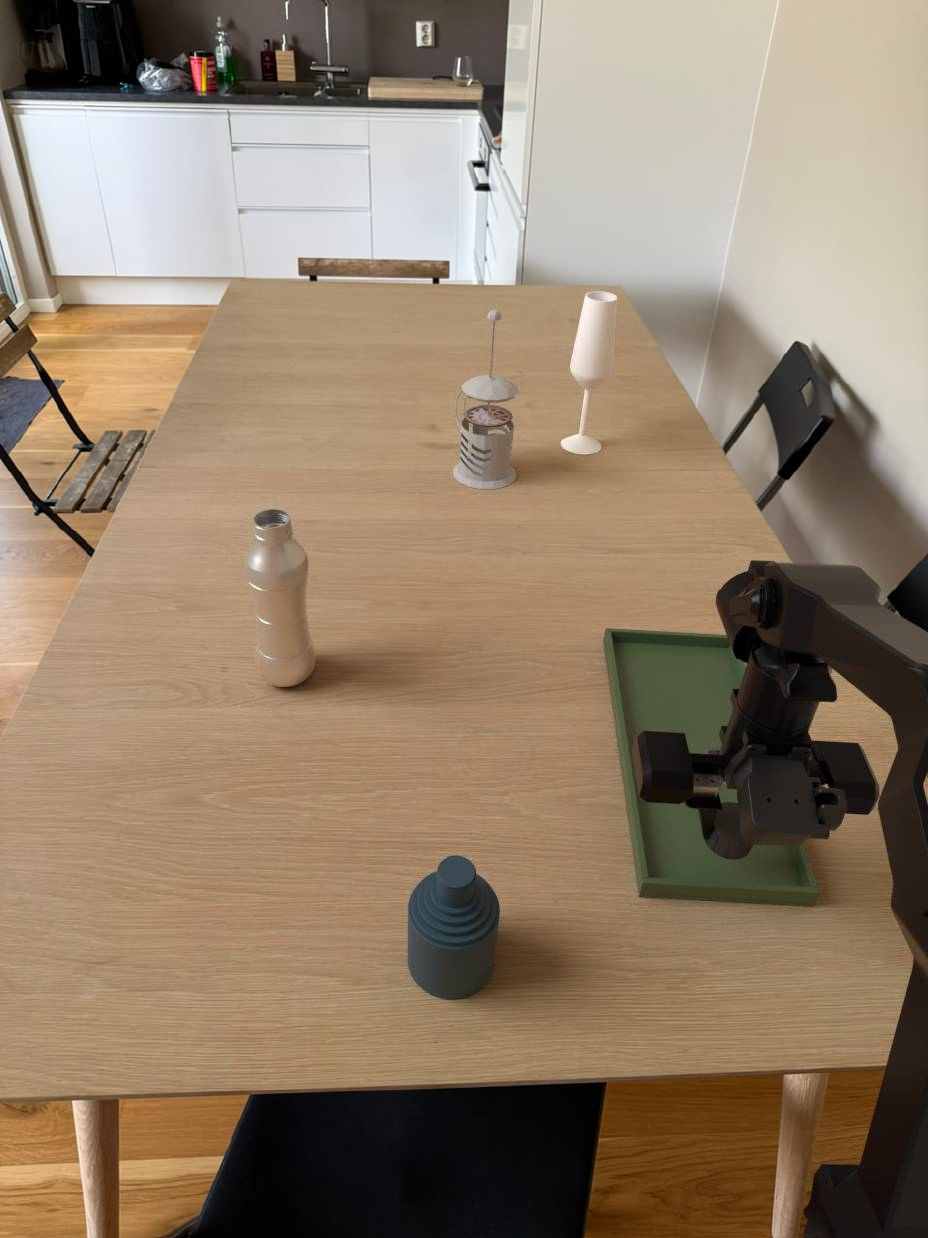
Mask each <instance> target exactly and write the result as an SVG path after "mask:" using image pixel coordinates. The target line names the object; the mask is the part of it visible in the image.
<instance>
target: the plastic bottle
mask: <svg viewBox="0 0 928 1238" xmlns="http://www.w3.org/2000/svg"><path fill="white" fill-rule="evenodd" d="M252 527H253V529H252V535H253V539H254V541H253V543H252V544H251V546H250V548H249V549H248V551H247V553H246V555H245V557H244V563H243V569H244V574H245V578H246V581H247V584H248V588H249V591H250V594H251V597H252V598H251V599H252V603H253V609H254V614H255V619H256V621H255V622H256V643H255V648H254V649H255V650H254V652H255V653H254V662H255V667H256V669H257V672H258V674H259V676H260V677H261V678H262V679H263V680H264V681H265V682H267V684H270V685H271V686H275V687H279V688H289V687H294V686H296V685H300V684H301V683H303V682H305V681H306V680H307V678H308V677H310V675H311V674H312V673H313V671H314V669H315V665H316V664H315V663H316V657H317V656H316V654H317V653H316V649H315V644H314V640H313V637H312V635H311V631H310V625H309V620H308V614H307V612H308V611H307V587H308V575H309V558H308V555H307V553H306V550H305V549H304V547H303V546H302V545H301V544H300V543H299V542H298V541H297V540H296V539H295V538H294V537H293V534H294V531H293V530H294V529H293V526H292V520H291V515H290V513H288V511H287V510H284V509H280V508H267V509H263V510H260V511H258V512H256V513H255V514H254V515H253V517H252Z"/></svg>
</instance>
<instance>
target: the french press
mask: <svg viewBox="0 0 928 1238" xmlns="http://www.w3.org/2000/svg"><path fill="white" fill-rule="evenodd" d="M487 320H489V321H493V323H492V338H491V353H490V368H489V374H484V375H477V376H473V377H472V378H470V379H468V380H466V381H465V382H464V383H463V384H462V385H461V390H460V391H459V392H457V394H456V397H455V401H454V414H455V420H456V424H457V427H458V428H459V430H460V446H459V447H460V450H459V462H458V463H457V464H456V465H455V466H454V468H453V470H452V476H453V478H454V479H455V480H456V481H457V482H458V483H460V484H462V485H464V486H466V487H468V488H472V489H473V488H474V489H479V490H497V489H501V488H506V487H507V486H509V485H511V484H513V483H514V482H515V480H516V478H517V472H516V470H515V469H514V468H513V467H512V466H511V464H512V455H513V441H514V431H515V426H514V422H513V421H512V419H513V417H514V416H513V413H512V412H511V411H510V410H509V409H507V408H505V407H502V406H500V405H494V404H495V403H496V404H498V403H499V404H500V403H504V402H509V401H511V400H513V399H515V397H516V396H517V394H518V393H519V389H518V386H517V385H516V384H514V383H513V382H511V381H510V380H509V379H507V378H505V377H502V376H499V375H493V361H494V360H493V359H494V342H495V331H496V330H495V327H496V322H497V321H500V320H502V313H501V311H499V310H498V309H491V310H490V311H489V312H488V313H487ZM462 393H464V397H463V406H462V409H463V417H464V418H463V419H462V421H461V424H460V423H459V419H458V411H457V410H458V409H457V401H458V399H459V397H460V395H461V394H462ZM466 399H469V400H470V399H472V400H475V401H478V402H482V403H484V404H476V405H472V406H470V407H468V408H467V409H466ZM485 403H486V404H485ZM470 424H472V427H471V425H470ZM504 426H507V428H508V429H507V428H506V427H504ZM493 430H495V431H502V432H504V433H503V434H502V433H500V432H499V433H498V432H497V433H496V432H493V433H489V432H490V431H493ZM469 443H470V444H471V445H469ZM469 451H470V453H469Z"/></svg>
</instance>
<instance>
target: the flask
mask: <svg viewBox="0 0 928 1238" xmlns="http://www.w3.org/2000/svg"><path fill="white" fill-rule="evenodd" d="M499 901H500V900H499V899H498V896H497V893H496V892H495V890H494V889H493V887H492V886H491V885H490V884H489V883H488V881H487V880H486V879H485V878H483V877H482V876H481V875H479V874H478V873H477V868H476V866H475V864H474V863H473V862H472V861H471V860H470V859H469V858H467V857H465V856H462V855H455V854H454V855H449V856H447V857H444V858H443V859H442V860H441V861H440V862H439V864H438V865H437V869H436V870H435V871H433V872H431V873H430V874H428V875H426V876H425V877H424V878H423V879H421V881H419V882H418V883H417V885H416V886H415V887H414V889H413V890H412V892H411V894H410V896H409V898H408V904H407V966H408V970H409V974H410V975H411V977H412V979H413V981H414V982H415V983H416V984H417V985H418V986H419V988H420V989H422V990H423V991H424V992H426V993H428V994H429V995H431V996H434V997H436V998H439V999H443V1000H444V999H445V1000H458V999H459V1000H460V999H463V998H467V997H469V996H472V995H473V994H475V993H477V992H479V991H480V990H481V989H482V988H484V986H485V985H486V984H487V983H488V981H489V979H490V978H491V976H492V973H493V970H494V967H495V959H496V958H495V957H496V949H497V942H498V934H499V933H498V932H499V923H500V917H501V916H500V913H501V907H500V902H499Z"/></svg>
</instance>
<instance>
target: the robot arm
mask: <svg viewBox="0 0 928 1238" xmlns="http://www.w3.org/2000/svg"><path fill="white" fill-rule="evenodd" d="M881 592H882V587H881V586H880V585H879V584H878V583H877V582H876V581H875V580H874V579H873V577H871V576H870V575H869V574H868V573H866V571H865V570H863V568H861V566H858V565H853V564H831V563H830V564H829V563H803V562H802V563H801V562H778V561H775V560H757V559H756V560H755V559H754V560H753V559H752V560H750V561H749V565H748V568H747V570H746V571H743V572H740V573H738V574H735V575H734V576H733V577H731V578H729V579H728V580H727V581H725V583H724V584H723V585H721V588H720V589H718V591H717V593H716V596H715V606H716V610H717V613H718V616H719V618H720V621H721V623H722V626H723V629H724V631H725V635H727V637H728V640H729V642H730V645H731V648H732V650H733V653H734V655H735V657H736V659H740V660H741V661H743V662H744V663H745V664H746V665H745V666H746V669H745V672H744V675H743V679H742V682H741V685H740V688H739V689H733V690H732V694H731V697H730V699H731V703H732V706H733V710H732V714H731V717H730V720H729V723H728V726H721V729H720V733H719V736H720V740H721V744H722V746H721V749H720V750H713V749H709V750H707V754H698V753H689V749H688V744H687V740H686V736H685V733H675V732H657V731H641V732H640V733H639V734H638V735H637V736H636V737H635V739H634V744H633V748H632V754H633V761H634V767H635V773H636V780H637V786H638V793H639V797H640V798H642V799H643V800H644V801H646V802H649V803H667V804H680V803H682V802H684V803H685V805H686V806H687V807H689V808H692V809H698V811H699V818H700V824H701V830H702V835H703V839H709V837H710V835H711V833H712V830H713V825H714V821H715V816H716V812H717V810H722V805H721V801H720V796H719V792H718V790H719V788H720V787H721V785H722V784H726V785H727V789H738V790H737V801H738V809H739V818H740V832H741V835H742V837H743V839H744V840H745V841H746V842H748V843H749V844H752V845H777V846H787V847H798V846H800V845H801V844H802V843H805V842H806V841H807V840H808V839H815V840H829V838H830V834H831V833H830V832H834V831H836V830H837V829H839V827H840V826H841V825H843V824H842V823H843V821H844V818H845V816H846V814H847V815H859V816H860V815H861V816H868V815H870V814H871V813H872V812H873V811H874V809H875V806H876V804H877V803H878V804H877V811H878V816H879V820H880V821H879V822H880V825H881V829H882V835H883V839H884V843H885V849H886V853H887V859H888V863H889V868H890V873H891V878H892V883H893V884H892V890H891V899H890V908H891V911H892V914H893V915H894V918H895V920H896V922H897V924H898V927H899V929H900V930H901V933H902V935H903V937H904V940H905V941H906V944H907V946H908V948H909V951H910V952H911V954H912V959H913V961H912V967H911V972H910V975H909V979H908V982H907V987H906V991H905V994H904V997H903V1001H902V1004H901V1009H900V1013H899V1016H898V1020H897V1024H896V1028H895V1031H894V1035H893V1038H892V1042H891V1047H890V1050H889V1054H888V1057H887V1061H886V1065H885V1069H884V1073H883V1076H882V1080H881V1084H880V1088H879V1092H878V1095H877V1099H876V1103H875V1106H874V1110H873V1113H872V1118H871V1122H870V1125H869V1129H868V1133H867V1136H866V1140H865V1143H864V1146H863V1147H864V1148H863V1152H862V1156H861V1158H860V1163H859V1164H854V1163H852V1164H851V1163H850V1164H849V1163H822V1164H821V1165H819V1167H818V1169H817V1170H816V1171H815V1173H814V1174H813V1179H812V1187H811V1192H810V1193H811V1194H810V1197H809V1198H810V1199H809V1201H808V1204H807V1205H806V1206H805V1207H804V1208H803V1217H804V1218H805V1219H806V1223H805V1225H804V1229H803V1234H802V1238H928V799H927V796H926V792H925V787H924V786H925V785H924V783H925V781H926V778H927V775H928V631H926V630H925V629H923V628H922V627H920V626H918V625H916V624H914V623H913V622H911V621H909V620H908V619H905V618H904V617H903V616H901V615H899V614H897V613H896V612H893V611H892V610H890V609H888V608H887V607H886V606H883V605H882V603H880V600H881V599H880V598H881ZM833 671H835V672H836V673H837V674H839V675H840V676H841V677H842V678H843V679H845V680H846V681H847V682H848V683H849V684H851V685H852V687H854V688H855V689H857V690H858V691H859V692H860V693H862V694H863V695H864V696H865V697H867V698H868V699H869V700H870V701H872V702H873V703H874V704H875V705H877V706H878V707H879V708H880V709H881V710H883V712H885V713H886V714H887V715H888V716H890V717H891V723H892V726H893V727H892V728H893V732H894V735H895V740H896V745H897V751H896V753H895V756H894V759H893V760H892V764H891V767H890V769H889V772H888V775H887V777H886V780H885V782H884V785H883V787H882V790H881V793H880V783H879V782H878V779H877V778H876V774H875V773H874V770H873V767H872V766H871V764H870V761H869V759H868V757H867V754H866V751H865V749H864V748H863V747H862V746H861V744H860V743H859V742H848V741H834V740H833V741H831V740H813V739H812V738H811V735H810V733H809V731H810V728H811V726H812V723H813V721H814V718H815V715H816V713H817V710H818V708H819V705H820V703H835V702H836V701H837V700H838V688H837V685H836V682H835V680H834V678H833V676H832V672H833ZM826 786H827V787H826Z"/></svg>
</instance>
